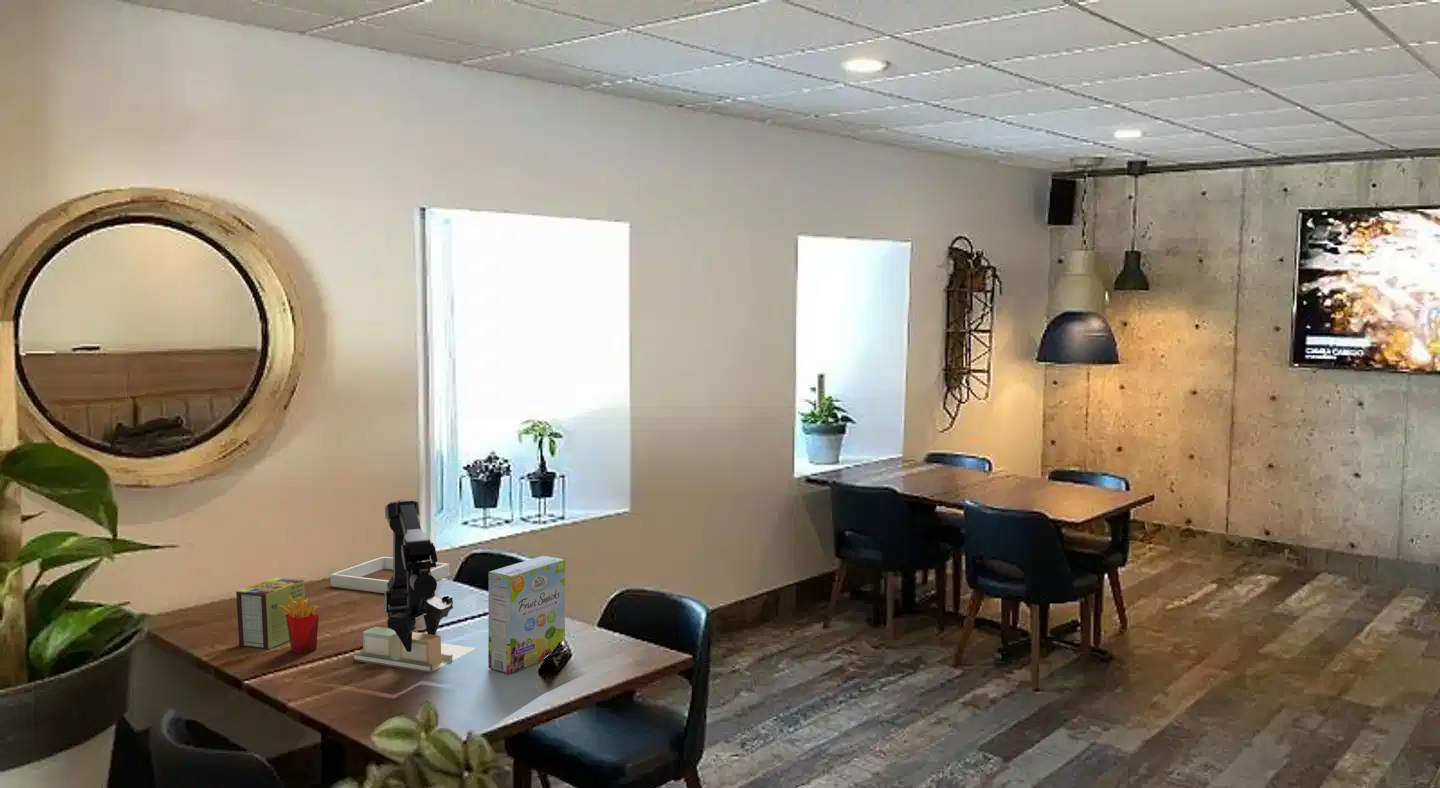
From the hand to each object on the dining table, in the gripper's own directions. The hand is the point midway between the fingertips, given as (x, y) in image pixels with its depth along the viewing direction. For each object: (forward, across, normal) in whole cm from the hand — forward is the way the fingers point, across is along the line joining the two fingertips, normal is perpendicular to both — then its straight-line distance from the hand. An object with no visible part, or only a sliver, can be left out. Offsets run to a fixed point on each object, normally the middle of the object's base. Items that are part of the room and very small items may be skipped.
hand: (420, 646), depth 283 cm
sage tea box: (+4, 0, +12) cm, 13 cm away
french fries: (+6, -3, +38) cm, 38 cm away
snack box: (+6, +14, -23) cm, 28 cm away
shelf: (+5, +5, +6) cm, 9 cm away
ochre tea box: (+4, 0, 0) cm, 5 cm away
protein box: (+6, +2, +53) cm, 53 cm away
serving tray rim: (+5, +64, +63) cm, 90 cm away
